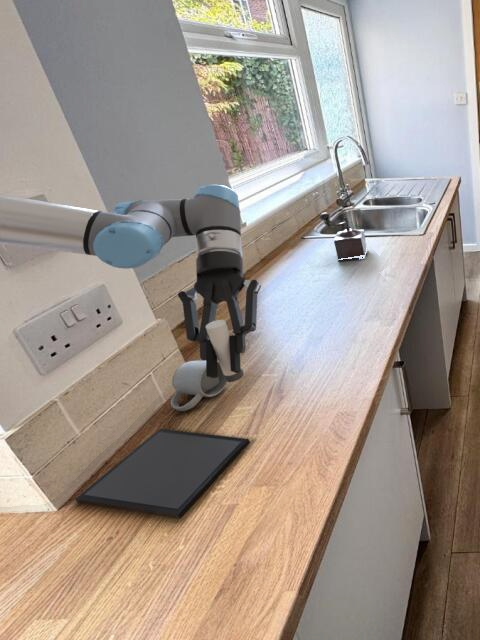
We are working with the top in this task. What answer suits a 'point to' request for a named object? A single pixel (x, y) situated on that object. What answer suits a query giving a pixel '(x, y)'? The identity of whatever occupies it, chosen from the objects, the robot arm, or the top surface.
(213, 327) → the light grey elongated piece
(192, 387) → the ceramic mug
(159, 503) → the tablet
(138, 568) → the top surface
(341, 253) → the black coffee grinder
